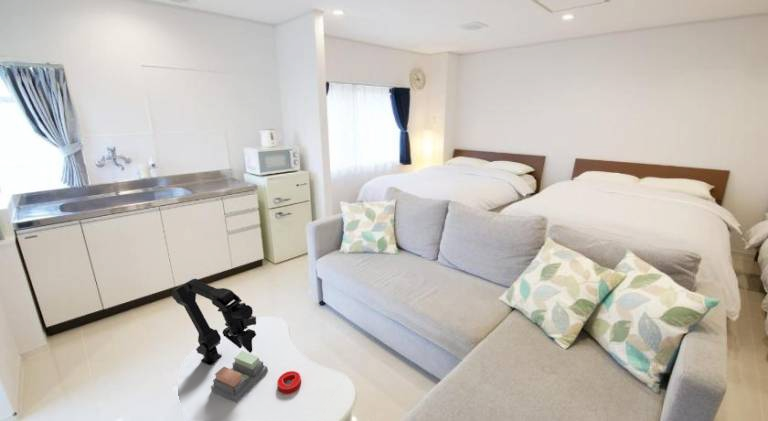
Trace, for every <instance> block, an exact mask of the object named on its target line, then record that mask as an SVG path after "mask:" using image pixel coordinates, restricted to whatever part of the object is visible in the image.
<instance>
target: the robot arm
mask: <svg viewBox="0 0 768 421" xmlns="http://www.w3.org/2000/svg"><path fill="white" fill-rule="evenodd" d="M197 295H198V296H201V297H203V298H204V299H208V300H210V301H211V303H212V305H213V306H215V307H216V308H217V312H221V314H222V317H223V319H224V321H225V323H224V325H225V326H226V327H225V328H224V329H223V330H222V334H223V337H225V338H226V339H227V340H228V341H230V342H231V343H232V344H234V345H235V346H236V347H237V348H239V349H241V348H244V349H245V350H246V351H247V353H249V354H251V353H252V352H253V339H254V338H255V337H256V336H257V333H256V331H255V330H253V329H250V328H248V327H250V326H256V325H257V317H256V316H254V315H253V312H254V311H253V310H254V309H253V307H252V306H251V305H250V304H246V302H242V301H243V300H242V299H241V298H240V296H239V295H237V294H236V293H235V292H233V290H231V289H229V288H226V287H222V288H221V287H220V288H216V287H214V286H212V285H209V284H207V283H204V282H202V281H199V279H198V278H192V279H191V280H189V281H187V282H185V283H184V284H182V285H181V286H179V287H177V288H175V289H173V291H172V293H171V297H172V299H173V300H174V301H175V302H176V303H177V304H178V305H180V306H183V307H184V309H185V311H186V313H187V315H188V316H189V318H190V320H191V322H192V324H193V326H194V327H195V330H196V331H197V333H198V336H197V342H198V344H199V345H198V346H197V347H196V349H195V350H196V352H197V354H200V355H202V356H203V357H202V359H200V362H202V363H204V364H206V365H209V366H212V365H213V364H214V363H215V362H216V361H218V360H219V359H220V358H222V354H220V353H219V351H218V348H217V346H218V345H220V344H221V338H222V337H221V334H220V333H219V332H218V329H214V328H211V327H210V325H209V323H208V322H207V319H206V318H205V316H204V314H203V312H202V310H201V309H200V307H199V305H198V303H197V301H196V300H197V298H196V297H197Z"/></svg>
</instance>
